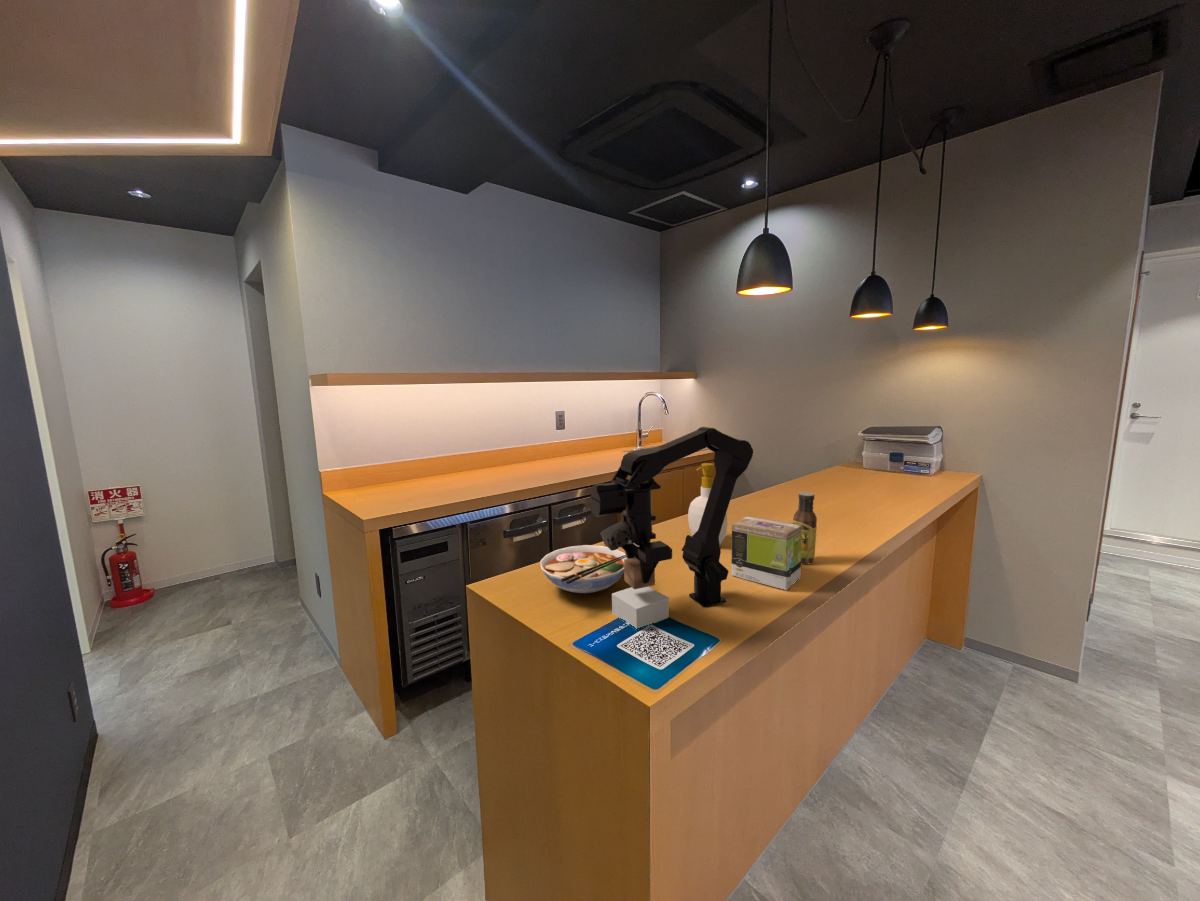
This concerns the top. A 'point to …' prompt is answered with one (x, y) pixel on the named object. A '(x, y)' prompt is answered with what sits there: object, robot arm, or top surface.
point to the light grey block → (640, 606)
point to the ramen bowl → (584, 568)
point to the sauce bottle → (806, 526)
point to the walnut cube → (635, 574)
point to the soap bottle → (703, 503)
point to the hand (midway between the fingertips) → (639, 578)
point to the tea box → (766, 551)
